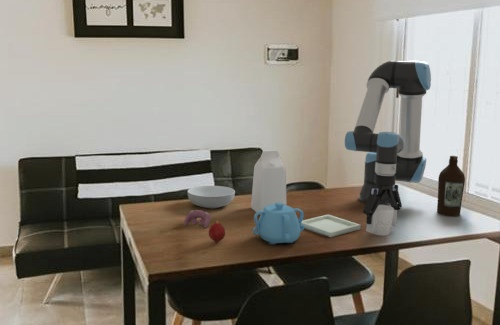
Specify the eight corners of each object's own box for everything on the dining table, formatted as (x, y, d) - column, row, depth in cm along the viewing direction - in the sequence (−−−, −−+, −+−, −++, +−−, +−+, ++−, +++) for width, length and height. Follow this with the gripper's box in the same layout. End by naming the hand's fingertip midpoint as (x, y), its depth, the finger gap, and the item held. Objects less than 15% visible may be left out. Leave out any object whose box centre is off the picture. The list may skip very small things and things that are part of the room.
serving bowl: (242, 203, 243) (243, 188, 242) (220, 215, 225) (221, 198, 223) (202, 197, 252) (202, 183, 250) (178, 208, 233) (177, 192, 232)
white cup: (392, 237, 201) (394, 211, 199) (370, 235, 202) (372, 209, 201) (391, 230, 208) (393, 205, 207) (370, 229, 210) (372, 204, 208)
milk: (276, 205, 240) (278, 147, 235) (286, 212, 229) (288, 152, 224) (250, 207, 236) (252, 148, 231) (259, 214, 226) (261, 153, 221)
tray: (328, 218, 222) (328, 214, 222) (360, 229, 209) (360, 224, 209) (298, 225, 212) (298, 221, 211) (330, 237, 199) (330, 232, 198)
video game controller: (210, 230, 209) (213, 212, 211) (205, 228, 205) (209, 210, 207) (186, 227, 212) (190, 209, 214) (182, 225, 208) (185, 207, 210)
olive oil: (432, 209, 239) (437, 153, 235) (457, 210, 239) (462, 154, 234) (439, 216, 229) (444, 158, 224) (465, 217, 228) (470, 159, 224)
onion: (208, 240, 193) (208, 218, 192) (224, 239, 194) (225, 218, 192) (208, 245, 188) (208, 223, 186) (225, 245, 188) (225, 223, 187)
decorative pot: (309, 238, 197) (310, 202, 195) (286, 250, 184) (287, 211, 182) (271, 230, 207) (272, 195, 204) (247, 240, 194) (248, 203, 191)
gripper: (371, 179, 191) (367, 237, 194) (413, 172, 206) (409, 225, 210) (355, 175, 196) (351, 232, 200) (397, 168, 212) (393, 221, 216)
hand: (381, 229), depth 205 cm, fingers open, 13 cm apart
